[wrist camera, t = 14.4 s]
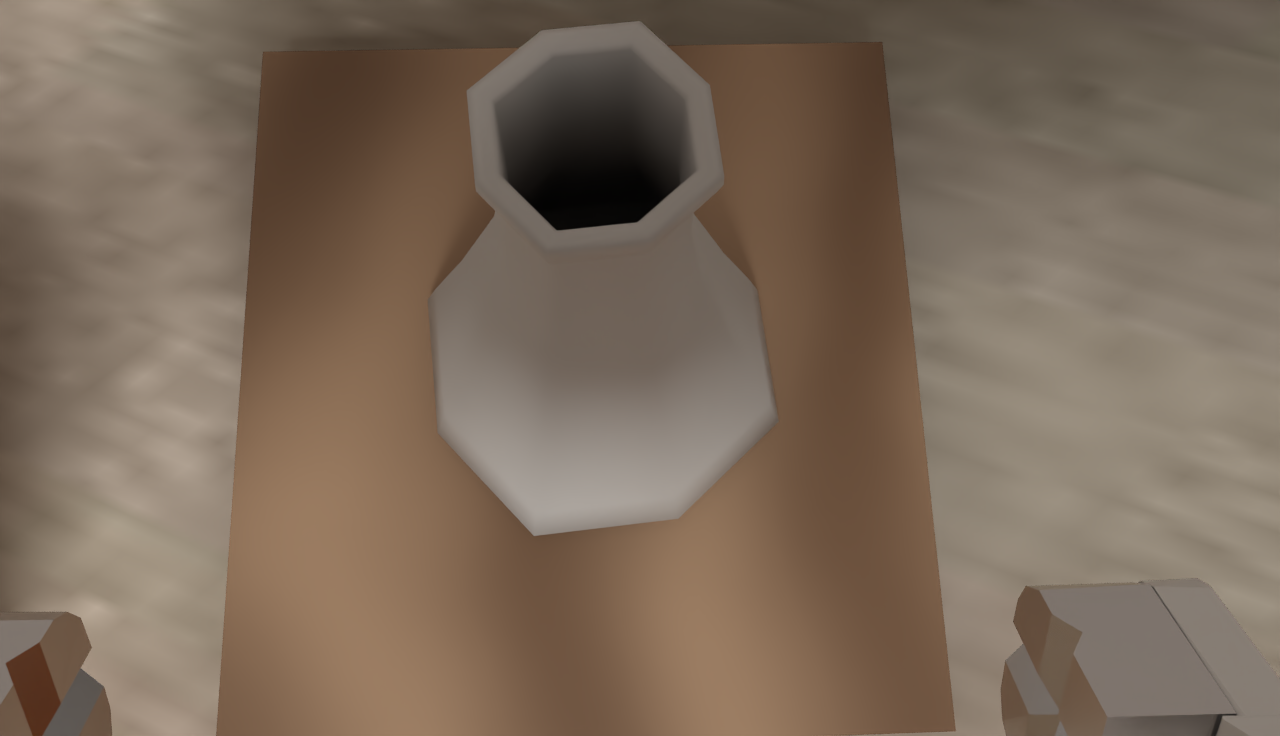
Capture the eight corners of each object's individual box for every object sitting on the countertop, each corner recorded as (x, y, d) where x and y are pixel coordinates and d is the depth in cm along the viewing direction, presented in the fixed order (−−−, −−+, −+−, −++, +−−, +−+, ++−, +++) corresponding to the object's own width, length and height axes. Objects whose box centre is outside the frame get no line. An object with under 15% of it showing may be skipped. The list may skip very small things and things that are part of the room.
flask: (373, 284, 24) (213, 5, 14) (680, 154, 25) (724, -188, 15) (511, 599, 22) (434, 522, 12) (835, 445, 23) (996, 265, 14)
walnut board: (867, 76, 27) (882, 42, 26) (933, 728, 23) (955, 730, 22) (281, 86, 27) (262, 51, 25) (239, 754, 23) (214, 758, 21)
